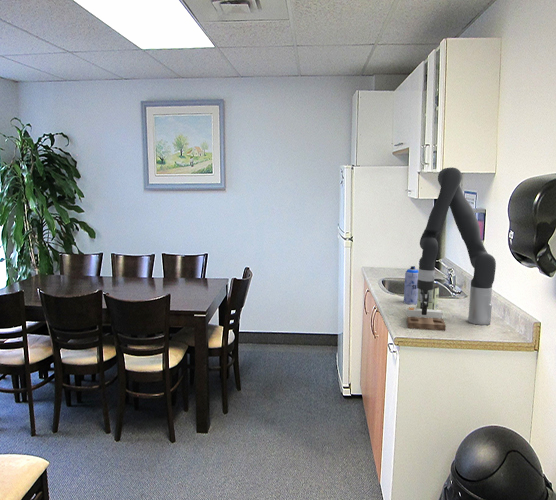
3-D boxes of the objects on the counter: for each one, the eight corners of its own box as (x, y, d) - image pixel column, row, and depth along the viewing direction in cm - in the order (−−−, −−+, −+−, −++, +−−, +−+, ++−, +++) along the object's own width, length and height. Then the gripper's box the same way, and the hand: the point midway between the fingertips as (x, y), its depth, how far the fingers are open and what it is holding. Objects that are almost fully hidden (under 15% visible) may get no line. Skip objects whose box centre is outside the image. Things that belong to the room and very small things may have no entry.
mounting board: (442, 324, 223) (442, 318, 223) (445, 330, 214) (445, 325, 213) (406, 321, 226) (407, 316, 226) (408, 328, 217) (408, 322, 216)
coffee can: (416, 307, 251) (417, 281, 249) (437, 309, 248) (438, 282, 246) (416, 312, 241) (418, 285, 239) (438, 314, 238) (439, 286, 236)
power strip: (440, 320, 229) (441, 308, 228) (442, 322, 225) (442, 311, 224) (406, 317, 232) (406, 306, 231) (406, 320, 228) (407, 308, 227)
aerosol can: (409, 305, 255) (411, 268, 252) (400, 301, 262) (402, 265, 259) (421, 303, 258) (423, 267, 255) (411, 300, 266) (413, 264, 262)
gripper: (435, 282, 218) (433, 317, 221) (432, 276, 232) (429, 309, 234) (418, 281, 220) (416, 315, 222) (416, 275, 233) (413, 307, 236)
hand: (423, 312), depth 228 cm, fingers open, 8 cm apart
